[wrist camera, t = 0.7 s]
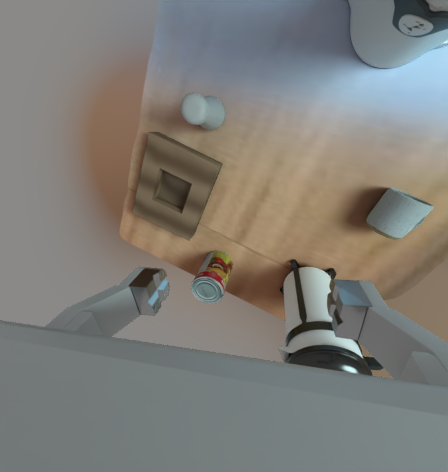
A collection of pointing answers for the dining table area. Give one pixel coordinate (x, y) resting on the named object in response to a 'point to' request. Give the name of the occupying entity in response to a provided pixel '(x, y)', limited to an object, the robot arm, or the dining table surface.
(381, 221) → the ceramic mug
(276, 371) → the robot arm
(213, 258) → the canned food
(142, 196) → the walnut holder
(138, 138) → the dining table surface
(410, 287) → the dining table surface
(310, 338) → the coffee press
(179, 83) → the dining table surface
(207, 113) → the salt shaker
